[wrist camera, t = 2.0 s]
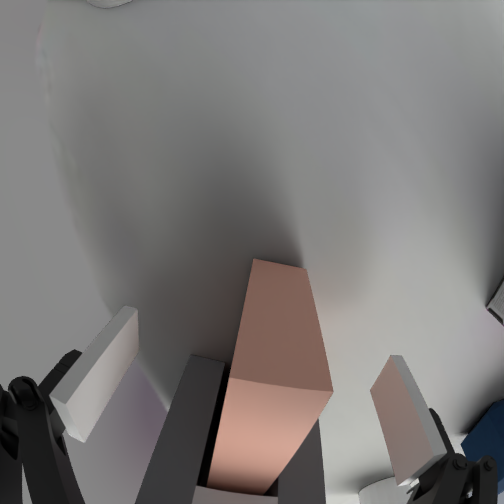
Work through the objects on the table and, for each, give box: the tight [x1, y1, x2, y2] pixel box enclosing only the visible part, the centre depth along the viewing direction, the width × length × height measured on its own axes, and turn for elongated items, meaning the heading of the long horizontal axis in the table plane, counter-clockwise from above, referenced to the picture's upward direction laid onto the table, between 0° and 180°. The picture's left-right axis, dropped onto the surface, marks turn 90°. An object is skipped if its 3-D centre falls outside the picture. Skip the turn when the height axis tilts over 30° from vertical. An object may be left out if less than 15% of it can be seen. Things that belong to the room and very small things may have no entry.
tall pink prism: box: [206, 258, 333, 496], centre depth 14 cm, size 16×3×9 cm, turn 169°
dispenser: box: [135, 355, 326, 504], centre depth 14 cm, size 9×9×12 cm
